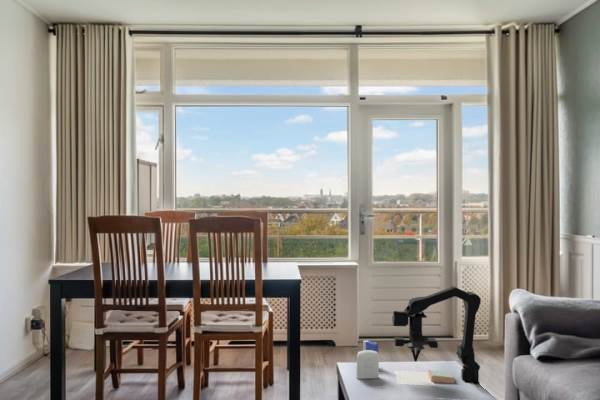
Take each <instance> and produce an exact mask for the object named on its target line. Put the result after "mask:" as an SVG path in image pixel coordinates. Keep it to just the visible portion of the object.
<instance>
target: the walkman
mask: <svg viewBox="0 0 600 400" xmlns="http://www.w3.org/2000/svg"><path fill="white" fill-rule="evenodd" d="M379 346H380V345H379V343H377V342H376V341H371V340H363V341H362V351H364V350H372V351H376V352H378V353H379Z"/></svg>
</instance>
